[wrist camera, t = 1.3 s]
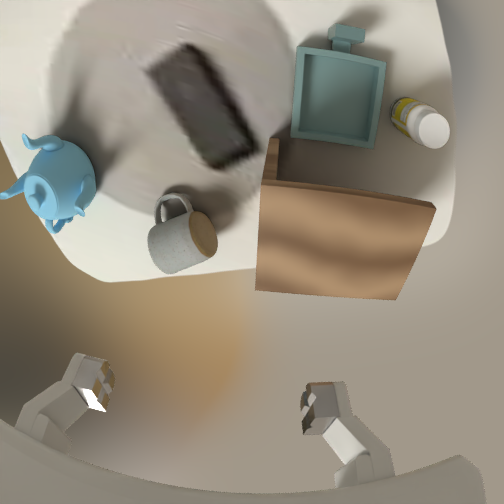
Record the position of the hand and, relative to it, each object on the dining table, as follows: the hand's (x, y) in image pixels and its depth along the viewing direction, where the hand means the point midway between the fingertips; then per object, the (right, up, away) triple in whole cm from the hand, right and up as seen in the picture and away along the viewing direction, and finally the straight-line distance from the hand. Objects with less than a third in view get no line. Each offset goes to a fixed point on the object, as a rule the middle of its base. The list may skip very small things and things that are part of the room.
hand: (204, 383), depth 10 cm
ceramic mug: (-8, +10, +33) cm, 35 cm away
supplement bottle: (+21, +23, +19) cm, 36 cm away
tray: (+12, +25, +18) cm, 33 cm away
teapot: (-28, +19, +28) cm, 44 cm away
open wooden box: (+12, +14, +26) cm, 32 cm away
